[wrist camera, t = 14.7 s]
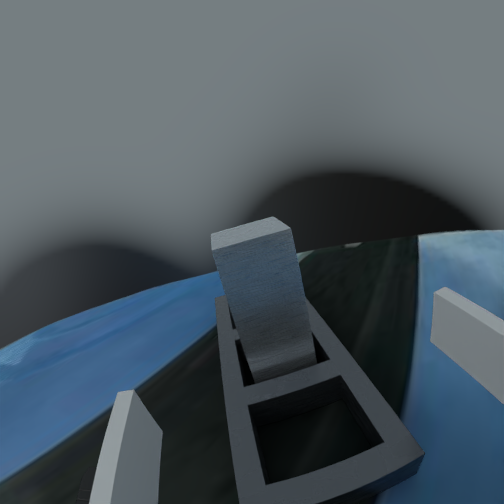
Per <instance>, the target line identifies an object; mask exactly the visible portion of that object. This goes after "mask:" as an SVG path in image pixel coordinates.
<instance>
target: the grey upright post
mask: <svg viewBox="0 0 504 504" xmlns="http://www.w3.org/2000/svg"><path fill="white" fill-rule="evenodd" d="M211 245H212V252H213V256H214V259H215V263H216V266H217V269H218V272H219V276H220V279H221V282H222V285H223V288H224V292H225V295H226V298H227V301H228V304H229V307H230V310H231V313H232V317H233V320H234V323H235V326H236V329H237V332H238V335H239V338H240V341H241V344H242V347H243V350H244V352H245V355H246V358H247V361H248V364H249V367H250V370H251V373H252V376H253V378H254V381H255V384H257V383H261V382H264V381H268V380H271V379H274V378H278V377H281V376H284V375H287V374H290V373H293V372H296V371H299V370H302V369H305V368H308V367H311V366H314V365H317V360H316V355H315V349H314V343H313V337H312V332H311V326H310V321H309V315H308V310H307V305H306V299H305V294H304V289H303V284H302V279H301V274H300V269H299V264H298V259H297V255H296V250H295V245H294V241H293V236H292V232H291V228H290V227H288V226H287V225H285V224H284V223H282V222H281V221H279V220H278V219H276V218H275V217H270V218H266V219H262V220H259V221H255V222H251V223H248V224H244V225H241V226H237V227H233V228H230V229H226V230H223V231H220V232H216V233H212V234H211Z"/></svg>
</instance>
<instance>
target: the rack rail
mask: <svg viewBox="0 0 504 504" xmlns="http://www.w3.org/2000/svg"><path fill="white" fill-rule="evenodd" d="M305 299H306V297H305ZM306 305H307V310H308V315H309V321H310V326H311V332H312V337H313V343H314V349H315V354H316V356H317V357H318V359H319V361H320V362H321V363H319V364H317V365H314V366H311V367H308V368H305V369H302V370H299V371H296V372H293V373H290V374H287V375H284V376H281V377H278V378H274V379H271V380H268V381H264V382H261V383H257V384H254V385H250V386H247V382H246V377H245V373H244V368H243V363H242V362H243V361H247V358H246V355H245V352H244V350H243V347H242V344H241V341H240V338H239V335H238V332H237V329H235V325H234V320H233V317H232V313H231V310H230V307H229V304H228V301H227V298H226V295H224V296H220V297H216V298H215V307H216V318H217V330H218V340H219V351H220V361H221V370H222V380H223V389H224V397H225V406H226V414H227V422H228V429H229V437H230V444H231V451H232V458H233V465H234V472H235V478H236V485H237V491H238V497H239V503H240V504H355V503H358V502H360V501H363V500H365V499H367V498H369V497H372V496H374V495H376V494H378V493H380V492H382V491H384V490H386V489H388V488H390V487H392V486H394V485H396V484H398V483H400V482H402V481H404V480H405V479H407V478H409V477H411V476H412V475H414V474H416V473H417V471H418V469H419V467H420V464H421V462H422V460H423V457H424V455H425V452H424V451H423V450H422V448H421V447H420V446H419V444H418V443H417V442H416V440H415V439H414V438H413V436H412V435H411V434H410V432H409V431H408V430H407V428H406V427H405V426H404V424H403V423H402V422H401V420H400V419H399V418H398V416H397V415H396V414H395V412H394V411H393V410H392V408H391V407H390V406H389V404H388V403H387V402H386V400H385V399H384V398H383V397H382V395H381V394H380V393H379V391H378V390H377V389H376V387H375V386H374V385H373V383H372V382H371V381H370V380H369V378H368V377H367V376H366V374H365V373H364V372H363V370H362V369H361V368H360V367H359V365H358V364H357V363H356V361H355V360H354V359H353V357H352V356H351V355H350V354H349V352H348V351H347V350H346V348H345V347H344V346H343V345H342V343H341V342H340V341H339V339H338V338H337V337H336V336H335V334H334V333H333V332H332V330H331V329H330V328H329V327H328V325H327V324H326V323H325V321H324V320H323V319H322V318H321V316H320V315H319V314H318V313H317V311H316V310H315V309H314V307H313V306H312V305H311V304H310V302H309V301H308V300H307V299H306ZM341 399H343V400H344V402H345V404H346V405H347V407H348V409H349V410H350V412H351V414H352V415H353V417H354V419H355V420H356V422H357V424H358V425H359V427H360V429H361V430H362V432H363V434H364V435H365V437H366V439H367V440H368V442H369V444H370V445H371V447H372V448H371V449H369V450H367V451H365V452H362V453H360V454H358V455H356V456H353V457H351V458H348V459H346V460H343V461H341V462H338V463H336V464H333V465H330V466H328V467H325V468H322V469H319V470H316V471H314V472H310V473H307V474H304V475H301V476H298V477H294V478H291V479H288V480H284V481H280V482H276V483H273V484H271V483H270V479H269V475H268V471H267V467H266V463H265V459H264V455H263V451H262V447H261V443H260V439H259V434H258V430H257V427H259V426H263V425H267V424H270V423H274V422H277V421H280V420H284V419H287V418H290V417H293V416H296V415H300V414H303V413H305V412H308V411H311V410H314V409H317V408H320V407H322V406H325V405H328V404H330V403H333V402H336V401H338V400H341Z"/></svg>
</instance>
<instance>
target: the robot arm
mask: <svg viewBox="0 0 504 504" xmlns="http://www.w3.org/2000/svg"><path fill="white" fill-rule="evenodd" d="M430 342H432V343H433V344H434V345H435V346H437V347H438V348H439V349H440V350H441V351H443V352H444V353H445V354H446V355H447V356H449V357H450V358H451V359H452V360H453V361H454V362H456V363H457V364H458V365H459V366H460V367H462V368H463V369H464V370H465V371H466V372H467V373H469V374H470V375H471V376H472V377H473V378H474V379H475V380H477V381H478V382H479V383H480V384H481V385H482V386H483V387H485V388H486V389H487V390H488V391H489V392H490V393H491V394H492V395H494V396H495V397H496V398H497V399H498V400H499V401H500V402H501V403H502V404H504V320H502V319H500V318H499V317H497V316H495V315H494V314H492V313H490V312H489V311H487V310H485V309H484V308H482V307H480V306H479V305H477V304H475V303H473V302H472V301H470V300H468V299H466V298H465V297H463V296H461V295H459V294H458V293H456V292H454V291H452V290H450V289H449V288H447V287H443V288H441V289H439V290H438V291H436V292H434V300H433V316H432V328H431V338H430ZM162 433H163V432H162V430H161V429H160V427H159V426H158V425H157V423H156V422H155V420H154V419H153V418H152V416H151V415H150V413H149V412H148V410H147V409H146V407H145V406H144V405H143V403H142V401H141V400H140V398H139V397H138V395H137V394H136V392H135V391H134V390H129V391H122V392H118V394H117V397H116V400H115V403H114V406H113V410H112V413H111V417H110V420H109V423H108V427H107V430H106V434H105V438H104V441H103V445H102V449H101V453H100V457H99V461H98V465H97V468H96V467H89V468H88V469H87V471H86V472H85V474H84V475H83V477H82V479H81V483H80V487H79V490H80V491H78V495H77V499H78V500H76V504H158V488H159V470H160V456H161V444H162Z"/></svg>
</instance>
